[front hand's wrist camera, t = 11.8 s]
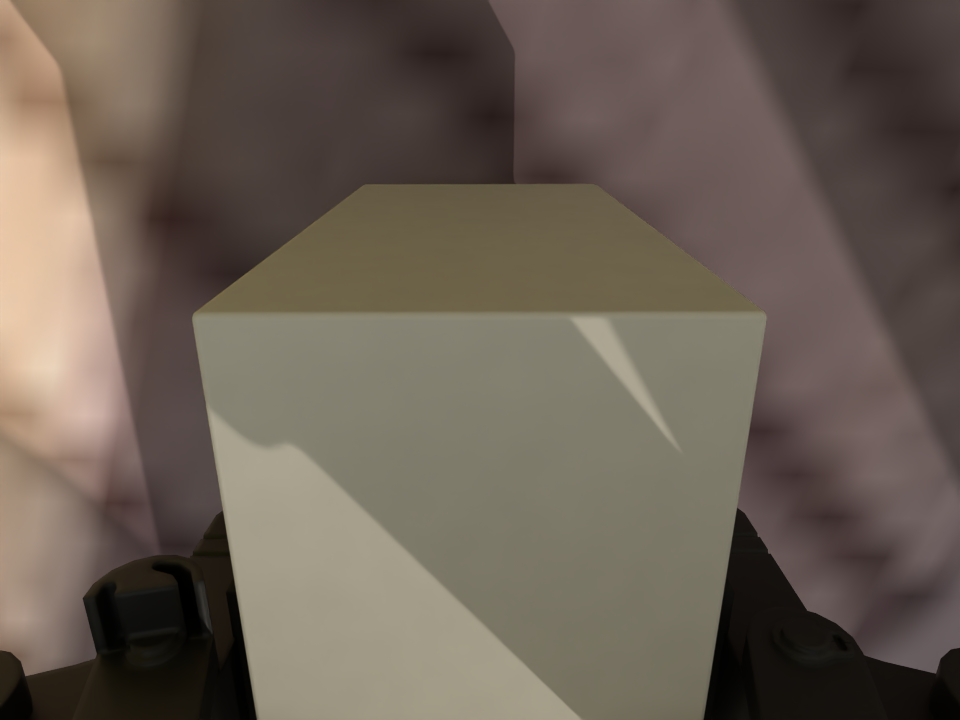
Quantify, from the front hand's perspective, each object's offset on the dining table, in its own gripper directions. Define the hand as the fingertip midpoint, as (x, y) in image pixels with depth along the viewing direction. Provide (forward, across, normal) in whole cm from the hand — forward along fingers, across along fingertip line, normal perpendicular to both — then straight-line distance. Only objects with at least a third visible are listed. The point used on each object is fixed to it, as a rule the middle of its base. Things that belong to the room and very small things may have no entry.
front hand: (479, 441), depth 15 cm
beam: (+1, 0, -20) cm, 20 cm away
